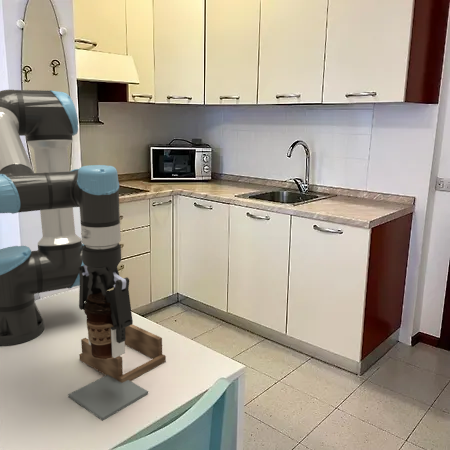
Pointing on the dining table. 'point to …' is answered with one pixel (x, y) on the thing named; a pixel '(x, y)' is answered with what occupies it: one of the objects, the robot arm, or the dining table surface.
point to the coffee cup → (99, 325)
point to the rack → (113, 367)
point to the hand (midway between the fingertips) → (106, 348)
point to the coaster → (107, 396)
